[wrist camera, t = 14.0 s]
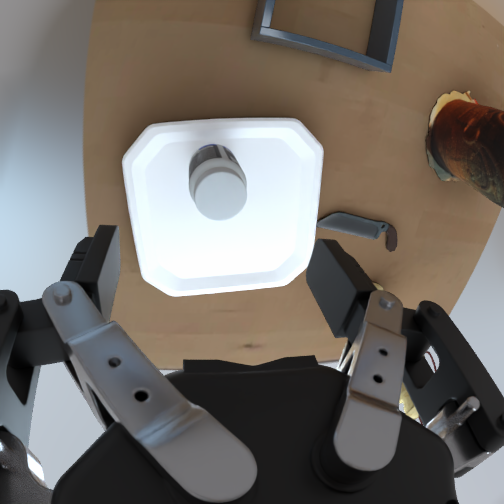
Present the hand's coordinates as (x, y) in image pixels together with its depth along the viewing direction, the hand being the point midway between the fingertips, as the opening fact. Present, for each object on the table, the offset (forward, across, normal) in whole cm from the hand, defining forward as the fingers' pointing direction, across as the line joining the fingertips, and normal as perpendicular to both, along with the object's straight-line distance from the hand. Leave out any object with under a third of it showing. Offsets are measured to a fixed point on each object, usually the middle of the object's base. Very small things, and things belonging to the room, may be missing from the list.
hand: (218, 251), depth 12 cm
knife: (+22, -22, +9) cm, 32 cm away
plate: (+22, -4, +8) cm, 24 cm away
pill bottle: (+20, -2, +2) cm, 20 cm away
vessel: (+22, -34, -8) cm, 41 cm away
